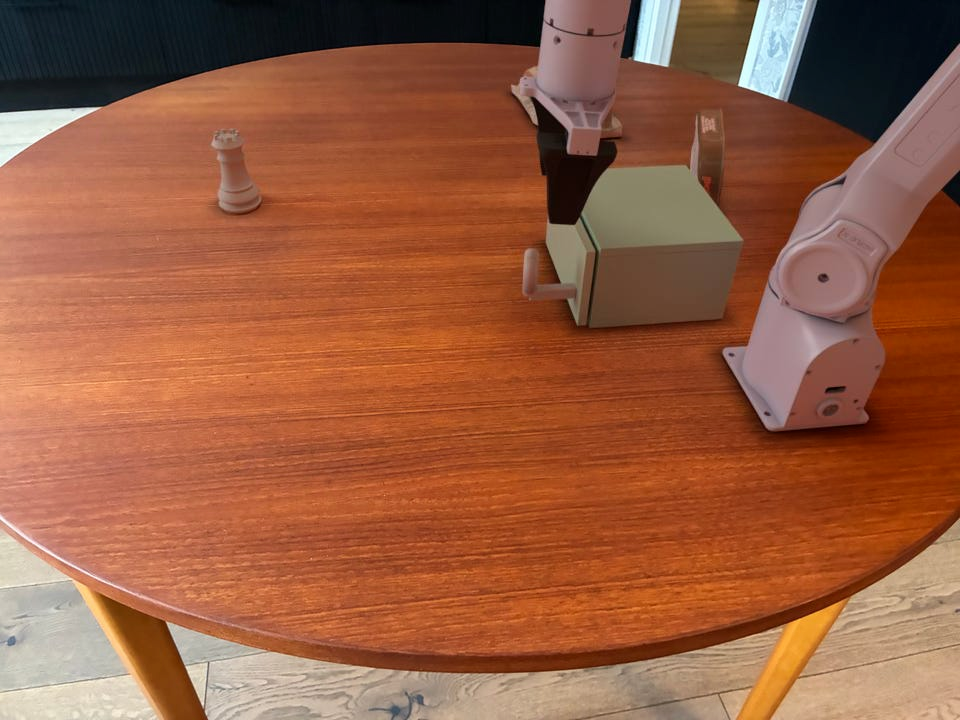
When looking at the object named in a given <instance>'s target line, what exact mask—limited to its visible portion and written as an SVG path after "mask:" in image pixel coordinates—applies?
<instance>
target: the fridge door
mask: <svg viewBox="0 0 960 720" xmlns="http://www.w3.org/2000/svg"><path fill="white" fill-rule="evenodd" d="M545 233H546V235H545V244H546V248H547V250H548V252H549V255H550V257H551V261H552V263H553V265H554V268H555V271H556V273H557V276H558V279H559V281H560V283H549V284H547V283H546V284H538V274H539V261H540V253H539V250H538V249H536V248H534V247H529V248H527V249H525V251H524V255H523V270H522V271H523V272H522V285H521V286H522V287H521V293H522V295H523V296H524V297H525V298H528V299H529V301H530V302H538V301H552V300H555V301H556V300H567V303H568V305H569V307H570V310H571V313H572V315H573V318H574V320H575V324H576V326H577V327H579V326H586V325H587V323H588V322H587V315H588V307H589V299H590V292H591V284H592V277H593V269H594V261H595V254H596V251H595V249H594V247H593V245H592V243H591V240H590V238H589V236H588V234H587V232H586V230H585V228H584V226H583V223H582V221H581V219H580V217H579V219H578V221H577V223H576V224H575V225H560V224H550V223H549V218H548V217H547V222H546V232H545Z"/></svg>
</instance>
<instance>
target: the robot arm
mask: <svg viewBox="0 0 960 720" xmlns="http://www.w3.org/2000/svg"><path fill="white" fill-rule="evenodd" d="M631 3H632V0H545V4H544V10H543V11H544V12H543V22H542V29H541V37H540V47H539V55H538V63H537V65H538V70H537V76H535V77H523V76H521V77H520V78H519V83H520V84H519V83H518V84H519V89H520V93H521V95H523V96H530V97H531V99H532V102H533V105H534V108H535V112H536V116H537V121H538V125H537V129H538V130H537V132H536V144H537V148H538V152H539V153H538V155H539V167H540V171H541V176H544V177H545V178H546V209H547V219H548V218H549V223H550V224H560V225H575V224H576V223H577V221H578V219H579V217H580V215H581V213H582V211H583V209H584V206H585V204H586V202H587V199H588V197H589V195H590V193H591V191H592V189H593V187H594V185H595V184H596V182H597V181H598V179H599V178H600V176H601V175H602V174H603V173H604V171H605V170H606V169H607V168H610V166H611V165H612V164H613V163H614V162H615V160H616V158H617V155H618V148H617V144H616V142H615V141H610V140H601V138H600V136H601V131H602V129H601V125H602V124H603V122H604V120H605V118H606V116H607V115H608V113H609V111H610V109H611V107H613V106H614V104H615V101H616V97H617V93H618V90H617V87H616V82H617V76H618V72H619V66H620V61H621V55H622V51H623V46H624V42H625V41H624V40H625V35H626V31H627V30H626V29H627V24H628V18H629V13H630V8H631ZM959 172H960V43H959V44H957V46H956V47H955V48H954V50H953V51H952V52H951V53H950V54H949V56H948V57H947V58H945V60H944V61H943V63H941V65H940V66H939V67H938V68H937V70H936V71H935V72H934V73H933V75H932V76H931V77H930V78H929V79H928V80H927V81H926V83H925V84H924V85H923V86H922V87H921V88H920V90H919V91H918V92H917V94H915V96H914V97H913V98H912V100H910V101H909V103H908V104H907V105H906V107H905V108H904V109H903V110H902V111H901V112H900V114H899V115H898V116H897V117H896V118H895V119H894V120H893V122H892V123H891V124H890V125H889V126H888V128H887V129H886V130H885V131H884V132H883V134H882V135H881V136H880V137H879V138H878V139H877V141H876V142H875V143H874V144H873V145H872V146H871V148H869V149H868V150H866V151H865V152H863V153H862V154H860V155H859V156H858V157H857V158H855V160H854V161H853V162H852V163H851V165H850V166H849V167H848V168H847V169H846V170H845V171H844V172H843V173H841V174H840V175H839V176H837V177H835V178H834V179H831V180H829V181H827V182H824V183H822V184H821V185H819V186H817V187H816V188H814V189H813V190H812V191H810V193H809V194H808V195H807V196H806V198H805V199H804V201H803V203H802V204H801V207H800V210H799V213H798V218H797V221H796V222H795V225H794V227H793V230H792V232H791V234H790V235H789V238H788V240H787V242H786V245H784V246H783V248H782V249H781V251H780V253H779V254H778V256H777V258H776V261H775V264H774V265H773V266H772V267H771V269H770V271H769V275H768V278H767V282H766V284H765V287H764V291H763V295H762V297H761V301H760V304H759V307H758V311H757V313H756V316H755V320H754V323H753V327H752V329H751V333H750V337H749V340H748V343H747V345H744V346H743V345H742V346H728V347H724V348H723V349H722V353H721V354H722V356H723V358H724V359H725V361H726V363H727V365H728V366H729V368H730V369H731V371H732V373H733V375H734V377H736V379H737V382H738V383H739V385H740V387H741V388H742V390H743V392H744V393H745V395H746V397H747V398H748V400H749V402H750V403H751V405H752V407H753V408H754V410H755V412H756V413H757V415H758V417H759V418H760V420H761V422H762V423H763V426H764V427H765V428H766V429H767V430H768V431H769V432H782V431H783V432H784V431H794V430H806V429H807V430H808V429H816V428H827V427H828V428H829V427H838V426H839V427H840V426H852V425H863V424H867V422H868V421H869V419H870V417H869V415H868V413H867V411H865V409H864V408H865V406H866V404H867V402H868V400H869V397H870V395H871V394H872V391H873V389H874V387H875V385H876V383H877V380H878V379H879V376H880V374H881V372H882V370H883V367H884V365H885V363H886V350H885V347H884V345H883V343H882V342H881V340H880V338H879V337H878V334H877V331H876V330H875V327H874V322H873V321H874V320H873V305H874V302H875V300H876V296H877V288H878V284H879V279H880V275H881V271H882V270H883V267H884V265H885V264H886V263H887V262H888V260H889V259H890V258H891V257H892V256H893V255H894V254H895V253H896V252H897V251H898V250H899V248H900V247H901V246H902V244H903V243H904V241H905V240H906V238H907V237H908V235H909V233H910V231H912V228H914V225H915V224H916V222H917V221H918V219H919V217H920V215H921V214H922V213H923V211H924V209H925V208H926V206H927V205H928V203H930V202H931V201H932V200H933V198H934V197H935V196H936V195H937V194H938V193H939V192H940V191H941V190H942V189H943V188H944V187H945V186H946V185H947V184H948V183H949V182H950V181H951V180H952V179H953V178H954V177H955V176H956V175H957V174H958V173H959Z"/></svg>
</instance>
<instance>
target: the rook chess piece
mask: <svg viewBox="0 0 960 720" xmlns="http://www.w3.org/2000/svg"><path fill="white" fill-rule="evenodd" d="M212 136H213V139H212V141H211V144H210V145H211V146H212V148H213V149H214V150H215V151H217V156H216V160H217V161H218V162H219V166H220V177H221V178H220V179H221V181H220V183H219V188H218V190H217V198H218V206H219V208H221V209H222V210H223V211H225V212H227V213H230V214H234V215H235V214H236V215H237V214H246V213H250V212H252V211H254V210H256V209H257V208H258V207H259V206H260V204H261V202H262V196H261V195H260V189H259V187H258V185H257V184H256V183H254V180H253V178H251V176H250V174H249V172H248V169H247V167H246V166H247V165H246V162H245V156H246V154H245V152H244V151H243V149H242V148H243V146H244V144H245V142H246V141H245V139H244V137H242V136H241V134H240V131H239V129H237V130H236V129H235V128H231V127H230V128H229V132H227V129H226V128H220V131H219V130H215V131H214V132H213V135H212Z"/></svg>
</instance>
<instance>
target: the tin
mask: <svg viewBox="0 0 960 720" xmlns="http://www.w3.org/2000/svg"><path fill="white" fill-rule="evenodd" d="M694 121H695V129H694V136H693V143H692V145H691V149H690V157H689V170H690V171H691V172H692V174H693V175H694V176H695V178H696V179H697V180H698V181H699V183H700V184H701V185H702V187H703V188H704V189H705V191H706V192H707V193H708V195H709V196H710V197H711V198H712V200H713V201H714V202H715V204H716V205H717V206H718V207H719V204H720V200H721V194H722V187H723V180H724V173H725V160H726V134H725V125H724V114H723V109H722V108H721V107H720V108H699V109H697V110H696V114H695V118H694Z"/></svg>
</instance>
